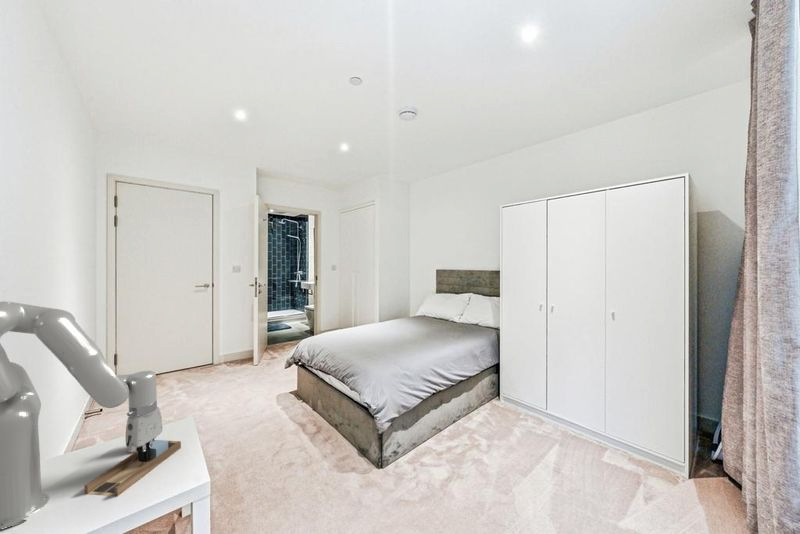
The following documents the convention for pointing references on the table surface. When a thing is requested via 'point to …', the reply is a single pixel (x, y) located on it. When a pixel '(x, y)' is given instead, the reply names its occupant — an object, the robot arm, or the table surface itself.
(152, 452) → the block
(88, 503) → the table surface
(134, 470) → the box
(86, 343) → the robot arm
